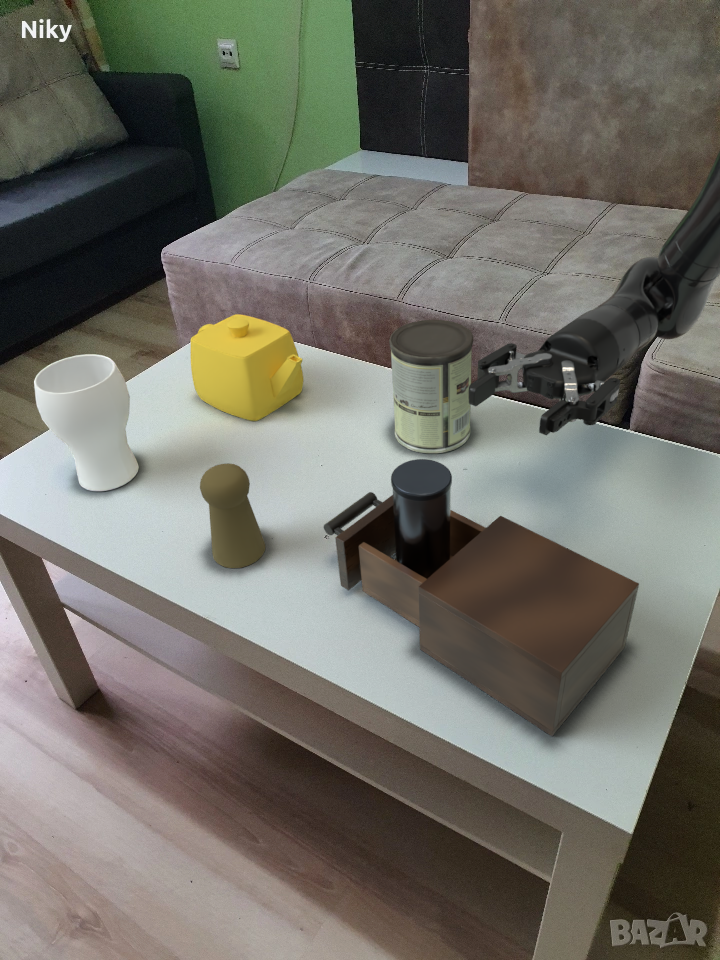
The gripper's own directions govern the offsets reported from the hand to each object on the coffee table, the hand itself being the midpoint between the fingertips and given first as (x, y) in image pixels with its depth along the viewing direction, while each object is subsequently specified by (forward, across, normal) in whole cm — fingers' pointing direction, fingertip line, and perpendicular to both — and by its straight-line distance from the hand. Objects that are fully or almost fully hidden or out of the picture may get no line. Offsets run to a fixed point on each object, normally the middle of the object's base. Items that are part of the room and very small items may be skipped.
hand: (506, 411), depth 75 cm
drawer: (+13, -2, +15) cm, 20 cm away
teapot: (-2, -45, +16) cm, 48 cm away
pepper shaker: (+21, -21, +16) cm, 34 cm away
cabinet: (+12, +12, +16) cm, 23 cm away
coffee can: (-11, -18, +16) cm, 27 cm away
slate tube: (+13, 0, +14) cm, 19 cm away
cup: (+23, -46, +16) cm, 53 cm away
